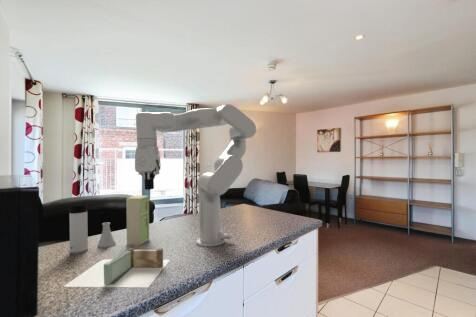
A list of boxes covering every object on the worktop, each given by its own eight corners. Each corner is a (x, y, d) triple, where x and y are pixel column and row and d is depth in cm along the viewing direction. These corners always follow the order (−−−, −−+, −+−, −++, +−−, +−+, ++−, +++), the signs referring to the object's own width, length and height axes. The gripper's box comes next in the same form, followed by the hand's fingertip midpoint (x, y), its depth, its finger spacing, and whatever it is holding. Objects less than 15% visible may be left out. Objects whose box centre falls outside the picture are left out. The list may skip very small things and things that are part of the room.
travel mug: (68, 256, 99) (68, 206, 99) (71, 251, 105) (70, 203, 105) (87, 253, 102) (86, 204, 102) (88, 248, 107) (87, 202, 107)
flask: (101, 243, 114) (101, 221, 114) (118, 242, 115) (117, 220, 115) (94, 248, 107) (93, 225, 107) (111, 248, 107) (111, 225, 107)
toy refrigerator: (141, 245, 109) (140, 198, 109) (126, 245, 111) (125, 198, 111) (151, 240, 117) (150, 195, 117) (137, 239, 119) (136, 195, 119)
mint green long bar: (127, 267, 87) (126, 249, 87) (131, 267, 86) (130, 250, 86) (104, 284, 75) (103, 264, 75) (108, 284, 75) (108, 264, 75)
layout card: (170, 260, 93) (170, 259, 93) (148, 288, 73) (148, 287, 73) (102, 260, 94) (102, 259, 94) (62, 287, 74) (62, 286, 74)
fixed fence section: (163, 265, 88) (162, 248, 88) (161, 267, 86) (161, 250, 86) (129, 265, 89) (129, 248, 89) (127, 267, 87) (127, 250, 87)
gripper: (126, 144, 100) (129, 190, 100) (153, 142, 93) (155, 191, 93) (141, 144, 107) (144, 187, 107) (167, 142, 99) (170, 188, 100)
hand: (149, 189), depth 100 cm, fingers closed
